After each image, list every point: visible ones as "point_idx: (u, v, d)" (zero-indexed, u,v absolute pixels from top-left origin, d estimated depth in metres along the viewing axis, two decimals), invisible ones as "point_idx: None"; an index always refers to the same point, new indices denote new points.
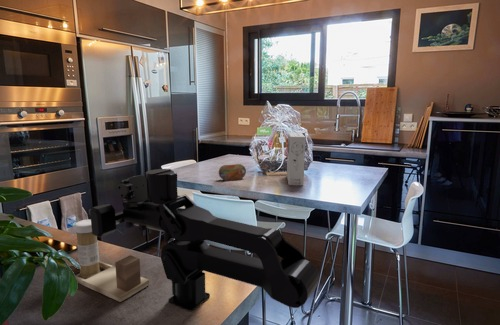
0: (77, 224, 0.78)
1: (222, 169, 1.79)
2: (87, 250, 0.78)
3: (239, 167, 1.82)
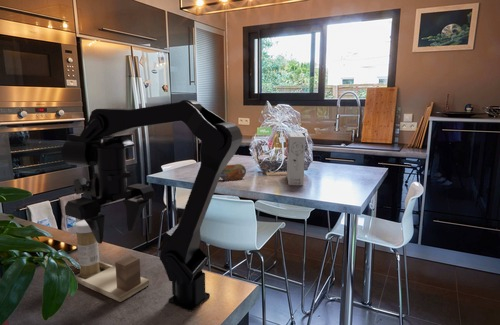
0: (77, 224, 0.78)
1: None
2: (87, 250, 0.78)
3: (239, 167, 1.82)
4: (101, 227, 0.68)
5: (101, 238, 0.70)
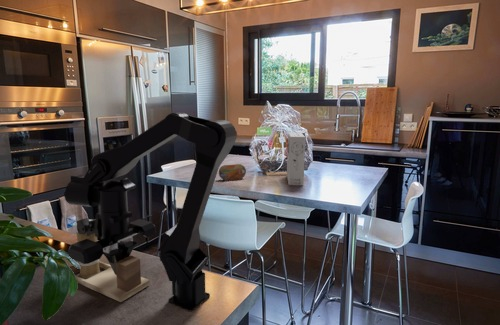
0: None
1: (222, 169, 1.79)
2: None
3: (239, 167, 1.82)
4: None
5: None
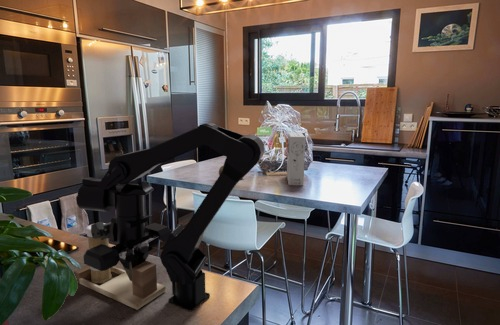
0: (89, 228, 0.76)
1: None
2: None
3: None
4: None
5: None
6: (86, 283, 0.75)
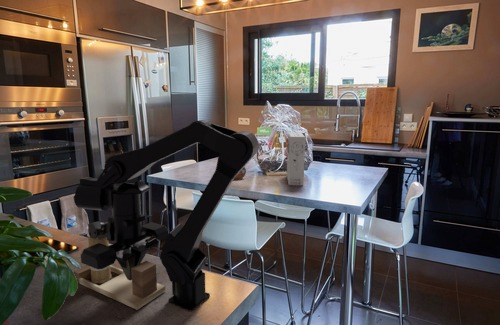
0: None
1: None
2: None
3: None
4: (132, 266, 0.71)
5: (131, 275, 0.72)
6: (86, 283, 0.76)
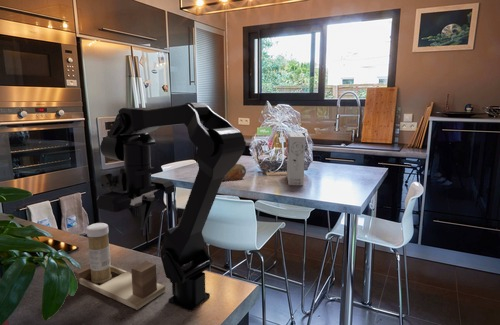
0: (89, 228, 0.76)
1: None
2: (99, 254, 0.76)
3: (239, 167, 1.82)
4: (143, 214, 0.76)
5: (142, 224, 0.77)
6: (86, 283, 0.76)
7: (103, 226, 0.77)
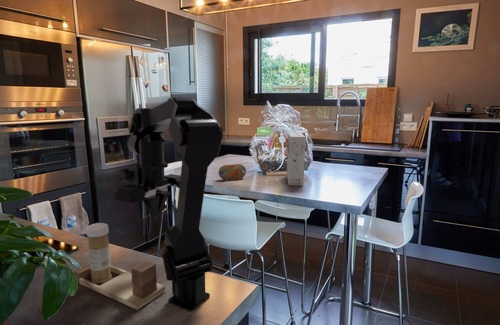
0: (89, 228, 0.76)
1: (222, 169, 1.79)
2: (99, 254, 0.76)
3: (239, 167, 1.82)
4: (156, 206, 0.83)
5: (155, 215, 0.84)
6: (86, 283, 0.76)
7: (103, 226, 0.77)
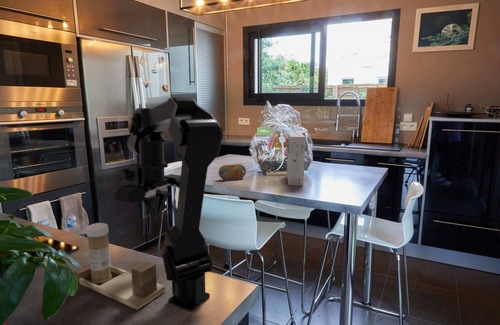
0: (89, 228, 0.76)
1: (222, 169, 1.79)
2: (99, 254, 0.76)
3: (239, 167, 1.82)
4: (156, 206, 0.83)
5: (155, 215, 0.84)
6: (86, 283, 0.76)
7: (103, 226, 0.77)
